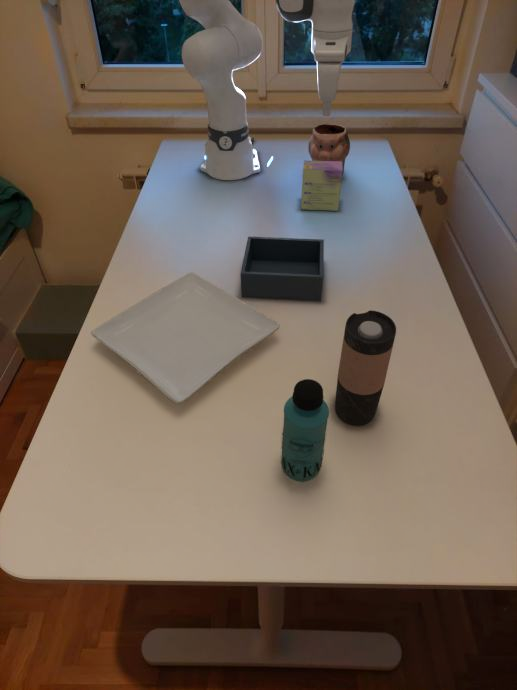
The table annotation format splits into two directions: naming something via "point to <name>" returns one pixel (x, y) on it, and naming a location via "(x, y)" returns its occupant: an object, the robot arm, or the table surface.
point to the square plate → (185, 334)
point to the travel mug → (363, 366)
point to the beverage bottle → (304, 431)
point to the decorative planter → (329, 143)
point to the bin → (283, 269)
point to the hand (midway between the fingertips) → (327, 108)
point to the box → (321, 185)
